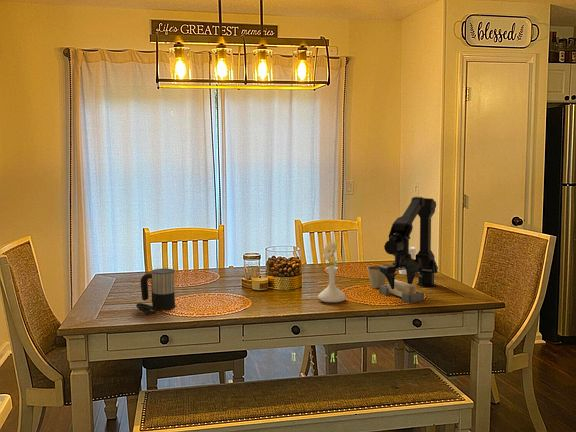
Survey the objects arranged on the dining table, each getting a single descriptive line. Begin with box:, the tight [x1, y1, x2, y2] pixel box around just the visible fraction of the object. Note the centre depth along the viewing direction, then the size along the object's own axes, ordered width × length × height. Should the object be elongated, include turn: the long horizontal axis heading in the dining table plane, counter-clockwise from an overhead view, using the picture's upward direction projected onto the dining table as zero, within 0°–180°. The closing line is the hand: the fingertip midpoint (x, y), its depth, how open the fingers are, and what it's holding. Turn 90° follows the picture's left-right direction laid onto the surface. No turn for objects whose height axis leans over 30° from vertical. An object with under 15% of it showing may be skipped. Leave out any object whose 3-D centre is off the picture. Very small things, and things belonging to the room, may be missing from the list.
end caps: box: [379, 284, 425, 304], centre depth 235 cm, size 8×19×3 cm, turn 29°
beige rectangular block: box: [386, 279, 417, 298], centre depth 235 cm, size 4×14×5 cm, turn 27°
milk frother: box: [135, 267, 176, 315], centre depth 218 cm, size 14×16×15 cm
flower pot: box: [366, 265, 387, 289], centre depth 254 cm, size 9×9×9 cm
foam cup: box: [398, 245, 416, 276], centre depth 282 cm, size 10×9×13 cm
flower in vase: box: [317, 241, 347, 303], centre depth 227 cm, size 13×11×25 cm
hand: (401, 287), depth 235 cm, fingers open, 9 cm apart
